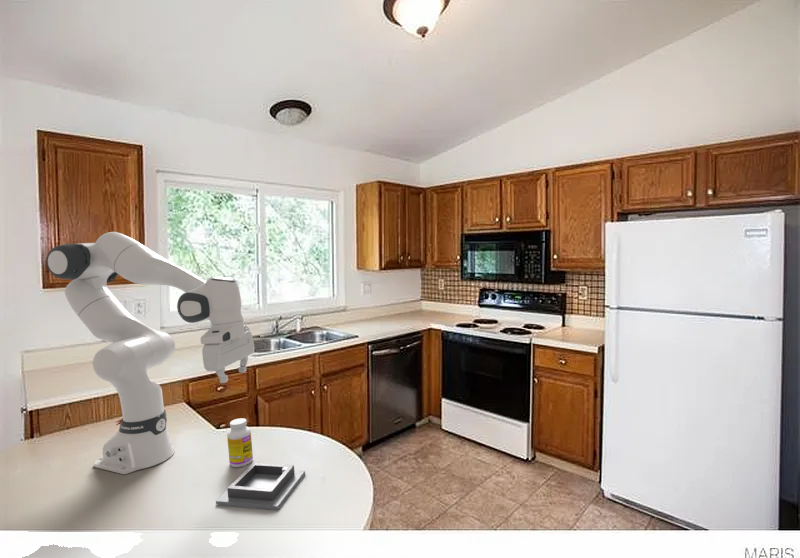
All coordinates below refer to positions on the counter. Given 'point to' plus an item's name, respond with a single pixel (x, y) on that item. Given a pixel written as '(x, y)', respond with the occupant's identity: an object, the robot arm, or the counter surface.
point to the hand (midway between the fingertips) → (233, 376)
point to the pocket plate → (262, 486)
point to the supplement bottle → (239, 443)
